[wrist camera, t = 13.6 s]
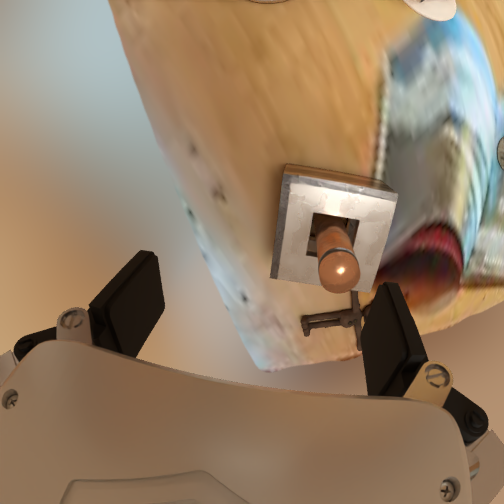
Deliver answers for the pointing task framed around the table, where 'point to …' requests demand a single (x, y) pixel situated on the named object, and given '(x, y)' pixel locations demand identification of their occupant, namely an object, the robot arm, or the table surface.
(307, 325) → the bear figurine
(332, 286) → the tube
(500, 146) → the spray can
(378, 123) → the table surface
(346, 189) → the frame
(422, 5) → the panda figurine
